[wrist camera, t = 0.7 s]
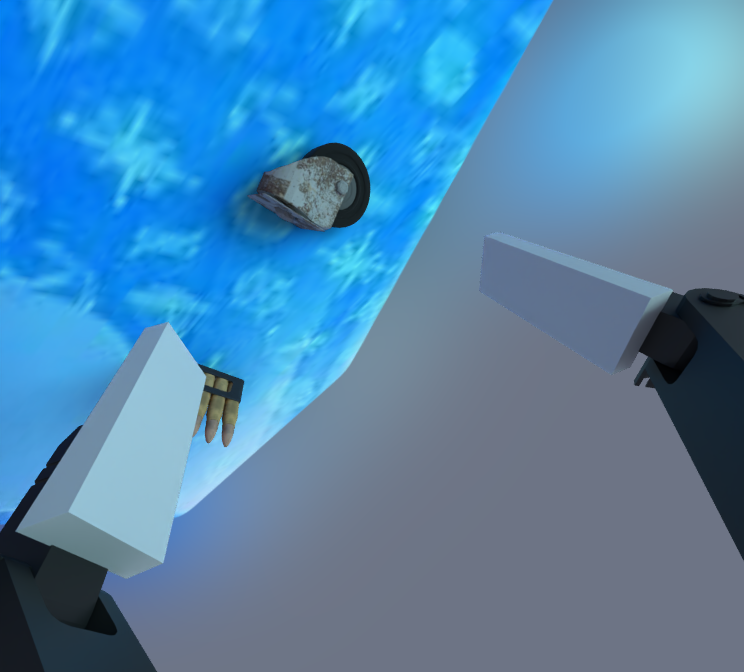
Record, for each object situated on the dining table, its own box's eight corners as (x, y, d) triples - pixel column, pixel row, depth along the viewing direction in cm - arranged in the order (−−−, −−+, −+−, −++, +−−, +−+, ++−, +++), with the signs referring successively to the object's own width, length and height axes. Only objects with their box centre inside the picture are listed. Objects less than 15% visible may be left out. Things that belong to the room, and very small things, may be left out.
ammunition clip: (244, 380, 40) (239, 442, 29) (237, 390, 40) (230, 455, 30) (159, 349, 34) (117, 413, 24) (152, 361, 34) (107, 429, 24)
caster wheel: (360, 179, 36) (329, 250, 37) (281, 109, 29) (244, 200, 30) (392, 174, 31) (355, 256, 32) (307, 89, 24) (261, 199, 25)
